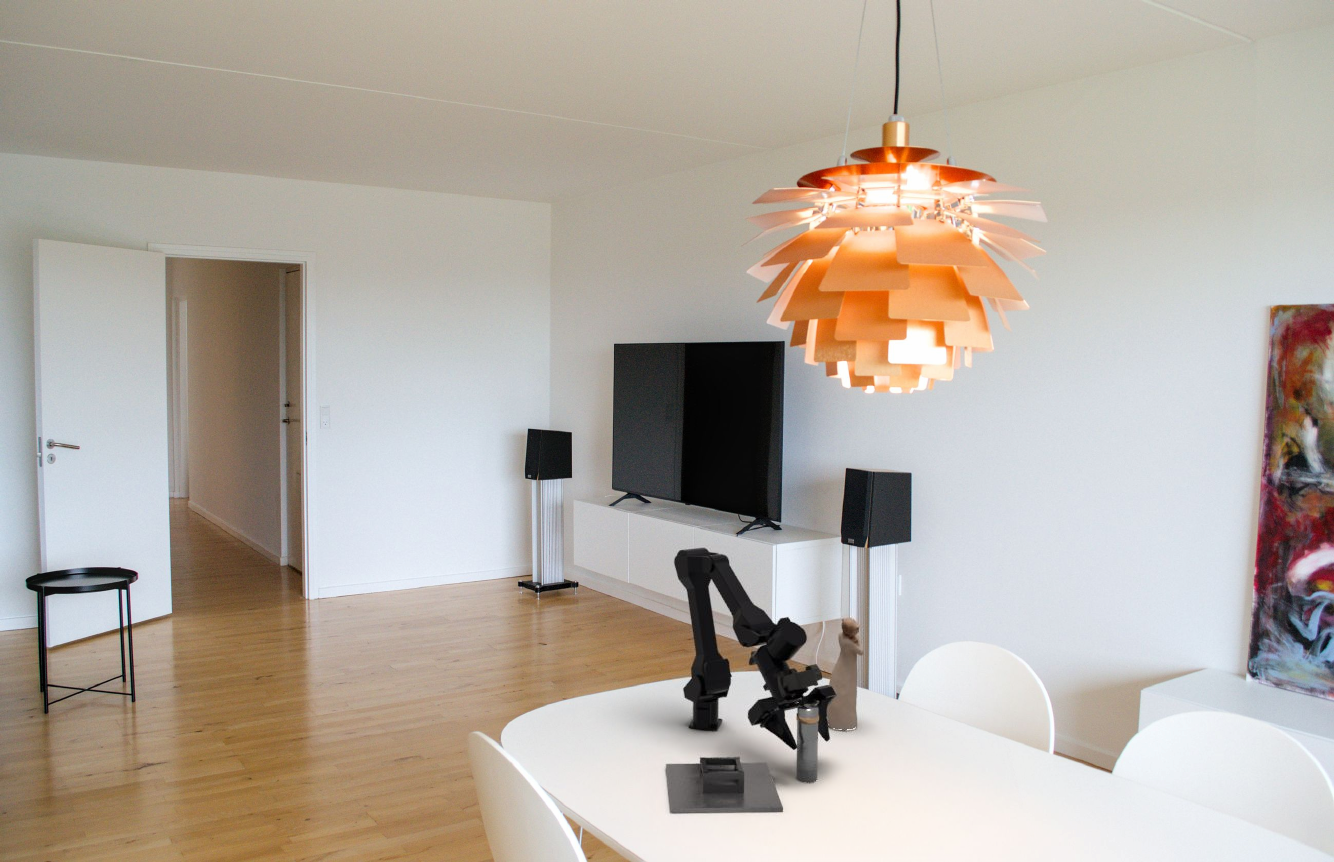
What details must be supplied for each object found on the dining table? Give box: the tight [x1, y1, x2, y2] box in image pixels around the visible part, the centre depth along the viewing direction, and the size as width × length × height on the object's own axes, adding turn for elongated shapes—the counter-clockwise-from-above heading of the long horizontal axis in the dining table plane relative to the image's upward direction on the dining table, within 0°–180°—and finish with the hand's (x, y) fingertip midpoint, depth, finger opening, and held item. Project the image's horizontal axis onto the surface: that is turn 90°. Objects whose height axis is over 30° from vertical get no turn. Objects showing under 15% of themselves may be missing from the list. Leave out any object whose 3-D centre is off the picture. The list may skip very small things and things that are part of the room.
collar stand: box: [665, 756, 784, 814], centre depth 181 cm, size 20×20×4 cm
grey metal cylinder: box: [795, 704, 819, 784], centre depth 186 cm, size 4×4×14 cm
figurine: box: [827, 617, 864, 730], centre depth 215 cm, size 8×8×25 cm
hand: (812, 744), depth 185 cm, fingers open, 8 cm apart
